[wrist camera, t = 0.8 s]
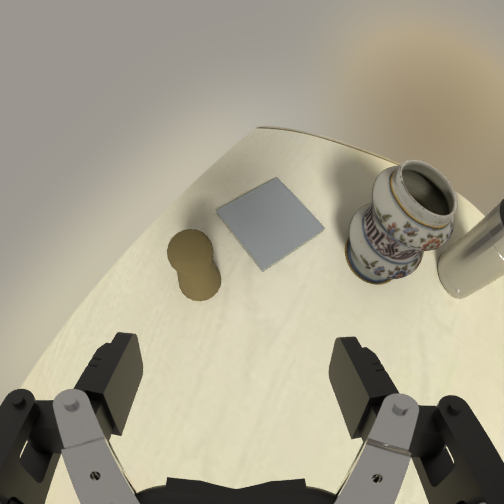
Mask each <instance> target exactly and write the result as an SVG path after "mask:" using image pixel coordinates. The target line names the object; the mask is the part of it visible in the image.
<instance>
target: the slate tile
mask: <svg viewBox="0 0 504 504" xmlns="http://www.w3.org/2000/svg"><path fill="white" fill-rule="evenodd" d="M216 212H217V214H218V216H219V217H220V218H221V220H222V221H223V222H224V223H225V225H226V226H227V227H228V229H229V230H230V231H231V232H232V234H233V235H234V236H235V237H236V239H237V240H238V241H239V243H240V244H241V245H242V246H243V248H244V249H245V250H246V252H247V253H248V254H249V255H250V257H251V258H252V259H253V260H254V262H255V263H256V264H257V266H258V267H259V268H260V269H261V271H262V272H263V271H265V270H266V269H268V268H269V267H271V266H272V265H274V264H275V263H277V262H278V261H280V260H281V259H283V258H284V257H286V256H287V255H289V254H290V253H292V252H293V251H295V250H296V249H298V248H299V247H301V246H302V245H303V244H305V243H306V242H308V241H309V240H311V239H312V238H314V237H315V236H317V235H318V234H320V233H321V232H322V231H324V229H325V228H324V227H323V226H322V224H321V223H320V222H319V221H318V220H317V219H316V218H315V217H314V216H313V215H312V214H311V212H310V211H309V210H308V209H307V208H306V207H305V206H304V205H303V204H302V203H301V202H300V201H299V200H298V199H297V197H296V196H295V195H294V194H293V193H292V192H291V191H290V190H289V189H288V188H287V187H286V186H285V185H284V184H283V183H282V182H281V181H280V180H279V179H278V178H275V179H273V180H271V181H269V182H267V183H265V184H263V185H262V186H260V187H258V188H256V189H254V190H252V191H250V192H249V193H247V194H245V195H243V196H241V197H239V198H238V199H236V200H234V201H232V202H230V203H229V204H227V205H225V206H223V207H222V208H220V209H218V210H216Z"/></svg>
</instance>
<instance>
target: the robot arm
mask: <svg viewBox="0 0 504 504" xmlns="http://www.w3.org/2000/svg"><path fill="white" fill-rule="evenodd" d="M438 273H439V277H440V280H441V282H442V285H443V286H444V288H445V289H446V290H447V292H448V293H449V294H451V295H452V296H454V297H456V298H465V297H467V296H469V295H470V294H472V293H474V292H476V291H477V290H479V289H481V288H483V287H485V286H486V285H488V284H490V283H491V282H493V281H495V280H496V279H498V278H500V277H501V276H503V275H504V199H503V200H502V201H501V202H500V203H499V204H498V205H497V206H496V207H495V208H494V209H493V210H492V211H491V212H490V213H489V214H488V215H487V216H486V217H485V218H483V219H482V220H481V221H480V222H479V223H478V224H477V225H476V226H475V227H474V228H472V229H471V230H470V231H469V232H468V233H467V234H466V235H464V236H463V237H462V238H461V239H460V240H459V241H457V242H456V243H455V244H454V245H453V246H451V247H450V248H449V249H448V250H447V251H445V252H444V253H443V254H442V255H441V257H440V259H439V262H438ZM142 375H143V362H142V357H141V353H140V348H139V343H138V338H137V335H136V334H132V333H122V332H118V333H117V334H116V335H115V337H114V339H113V340H112V342H111V343H105V344H104V345H102V346H101V347H100V348H98V349H97V351H96V352H95V354H94V355H93V357H92V359H91V360H90V362H89V363H88V366H87V367H86V368H85V370H84V372H83V373H82V375H81V377H80V378H79V380H78V382H77V384H76V385H75V387H74V389H68V390H65V391H62V392H61V393H59V394H58V395H57V396H56V397H55V399H54V400H36V399H35V398H34V396H33V394H32V393H31V392H30V391H28V390H26V389H17V390H14V391H12V392H11V393H9V394H8V395H7V396H6V398H5V400H4V401H3V402H2V404H1V406H0V504H45V500H46V497H47V494H48V491H49V487H50V484H51V481H52V478H53V475H54V472H55V469H56V466H57V463H58V461H59V458H60V455H61V454H62V456H63V459H64V462H65V465H66V468H67V471H68V473H69V476H70V479H71V481H72V484H73V487H74V489H75V492H76V494H77V496H78V499H79V501H80V503H81V504H394V503H395V501H396V498H397V495H398V493H399V490H400V488H401V485H402V482H403V479H404V477H405V474H406V471H407V468H408V465H409V461H410V458H412V460H413V463H414V465H415V468H416V470H417V473H418V475H419V478H420V481H421V483H422V486H423V488H424V491H425V494H426V497H427V499H428V502H429V504H504V463H503V461H502V459H501V457H500V455H499V454H498V452H497V450H496V449H495V447H494V445H493V443H492V442H491V440H490V438H489V437H488V435H487V434H486V432H485V430H484V429H483V427H482V426H481V424H480V422H479V421H478V419H477V418H476V416H475V415H474V413H473V411H472V410H471V408H470V407H469V405H468V404H467V403H466V401H464V400H463V399H462V398H460V397H458V396H453V395H449V396H445V397H443V398H442V399H441V400H440V401H439V403H438V405H437V406H421V405H418V404H417V402H416V401H415V400H414V399H413V398H412V397H410V396H408V395H405V394H400V393H399V392H398V390H397V388H396V387H395V385H394V383H393V382H392V380H391V378H390V377H389V375H388V373H387V372H386V371H385V369H384V367H383V365H382V364H381V362H380V360H379V359H378V357H377V356H376V354H375V353H373V352H372V351H371V350H370V349H368V348H367V347H364V348H362V347H361V345H360V343H359V342H358V340H357V338H356V337H339V338H336V340H335V344H334V348H333V353H332V357H331V361H330V365H329V379H330V382H331V385H332V387H333V390H334V393H335V396H336V398H337V401H338V404H339V406H340V409H341V412H342V415H343V417H344V420H345V423H346V426H347V428H348V431H349V434H350V437H351V439H355V438H360V437H361V438H362V440H363V443H362V445H361V447H360V449H359V451H358V453H357V455H356V457H355V459H354V461H353V463H352V465H351V467H350V469H349V471H348V473H347V474H346V476H345V478H344V480H343V481H342V483H341V485H340V486H339V488H338V490H337V491H336V493H335V494H334V493H331V492H329V491H326V490H323V489H319V488H315V487H308V486H306V483H305V478H304V479H295V480H283V481H270V482H266V483H263V484H258V485H254V486H250V487H245V488H240V489H232V488H227V487H223V486H219V485H215V484H211V483H207V482H204V481H199V480H187V479H178V478H169V477H167V482H166V485H161V486H156V487H151V488H148V489H145V490H142V491H140V492H137V491H136V489H135V487H134V486H133V484H132V483H131V481H130V479H129V478H128V476H127V474H126V472H125V471H124V469H123V467H122V465H121V463H120V461H119V460H118V458H117V456H116V454H115V452H114V450H113V448H112V446H111V444H110V442H109V439H110V437H111V434H114V435H119V436H121V435H122V432H123V429H124V427H125V424H126V421H127V418H128V415H129V412H130V409H131V406H132V403H133V401H134V398H135V395H136V392H137V390H138V387H139V384H140V381H141V379H142ZM26 440H27V441H28V442H27V444H26V446H25V449H24V451H23V453H22V455H21V458H20V454H21V451H22V449H23V447H24V445H25V443H26ZM446 446H447V447H448V449H449V451H450V453H451V455H452V457H453V459H454V463H453V461H452V459H451V457H450V455H449V453H448V451H447V449H446Z"/></svg>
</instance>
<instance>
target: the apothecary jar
mask: <svg viewBox="0 0 504 504" xmlns="http://www.w3.org/2000/svg"><path fill="white" fill-rule="evenodd" d="M372 201H373V203H369V204H367V205H365V206H363V207H361V208H360V209H359V210H358V211H357V212H356V213H355V215H354V216H353V218H352V220H351V223H350V228H349V238H348V240H347V243H346V246H345V255H346V260H347V263H348V265H349V267H350V268H351V270H352V271H353V273H354V274H355V275H356V276H358V277H359V278H360V279H362V280H363V281H365V282H367V283H371V284H377V285H378V284H385V283H387V282H389V281H391V280H392V279H398V278H403V277H405V276H407V275H409V274H411V273H412V272H413V271H415V270H416V268H417V267H418V266H419V264H420V262H421V260H422V257H423V253H424V251H429V250H434V249H437V248H439V247H441V246H442V245H443V244H445V243H446V242H447V241H448V239H449V238H450V236H451V234H452V231H453V227H454V214H455V212H456V209H457V197H456V193H455V191H454V189H453V188H452V185H451V184H450V182H449V181H448V179H447V178H446V177H445V176H444V175H443V174H442V173H441V172H440V171H439V170H438V169H436V168H435V167H433V166H432V165H430V164H428V163H425V162H423V161H419V160H407V161H405V162H403V163H402V164H401V165H400V166H393V167H390V168H387V169H385V170H384V171H382V172H381V173H380V174H379V175H378V177H377V178H376V180H375V183H374V186H373V191H372Z"/></svg>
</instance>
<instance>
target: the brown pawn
mask: <svg viewBox="0 0 504 504" xmlns="http://www.w3.org/2000/svg"><path fill="white" fill-rule="evenodd" d="M167 255H168V260H169V262H170V264H171V266H172V267H173V268H174V269H175V270H176V271H177V274H178V280H179V286H180V289H181V291H182V293H183V294H184V295H185V296H186V297H187V298H189V299H191V300H195V301H203V300H207V299H209V298H211V297H213V296H214V295H215V294H216V293H217V292H218V290H219V288H220V285H221V276H220V273H219V271H218V269H217V267H216V265H215V264H214V262H213V260H212V257H213V248H212V243H211V241H210V240H209V238H208V237H207V236H206V235H205V234H204V233H203V232H200V231H198V230H192V229H188V230H183V231H181V232H179V233H177V234H176V235H175V236H174V237H173V238H172V239H171V241H170V242H169V245H168V249H167Z"/></svg>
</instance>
